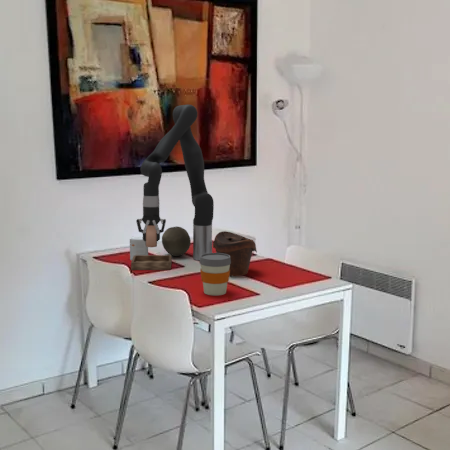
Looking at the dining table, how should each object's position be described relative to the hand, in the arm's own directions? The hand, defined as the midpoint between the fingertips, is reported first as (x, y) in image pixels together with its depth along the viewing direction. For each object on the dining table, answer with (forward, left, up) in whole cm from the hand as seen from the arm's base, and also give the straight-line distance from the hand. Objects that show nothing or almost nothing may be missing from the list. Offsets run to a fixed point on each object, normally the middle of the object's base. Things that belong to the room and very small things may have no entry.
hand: (151, 240), depth 291 cm
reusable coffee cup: (-28, +42, -12) cm, 52 cm away
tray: (0, 0, -12) cm, 12 cm away
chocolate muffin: (-38, +12, -12) cm, 42 cm away
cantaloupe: (-11, -19, -12) cm, 25 cm away
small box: (+7, -14, -12) cm, 20 cm away
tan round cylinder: (0, 0, -2) cm, 2 cm away
